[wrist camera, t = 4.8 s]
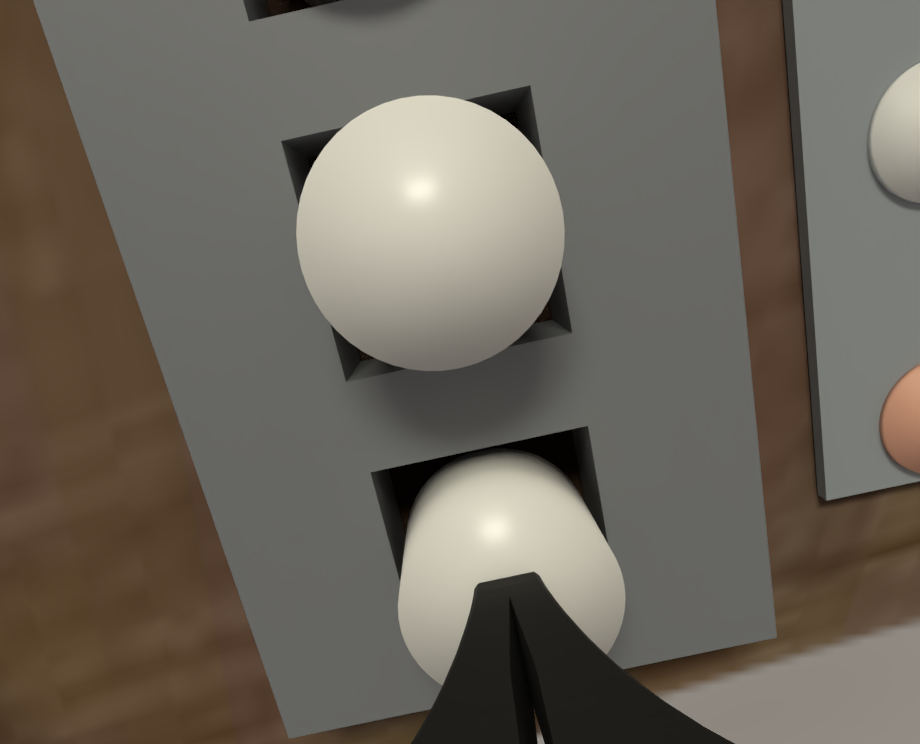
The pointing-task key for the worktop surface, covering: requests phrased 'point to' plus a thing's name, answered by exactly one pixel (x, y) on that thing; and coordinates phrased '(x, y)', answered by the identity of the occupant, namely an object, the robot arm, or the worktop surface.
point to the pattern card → (859, 233)
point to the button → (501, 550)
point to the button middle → (430, 233)
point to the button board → (433, 392)
